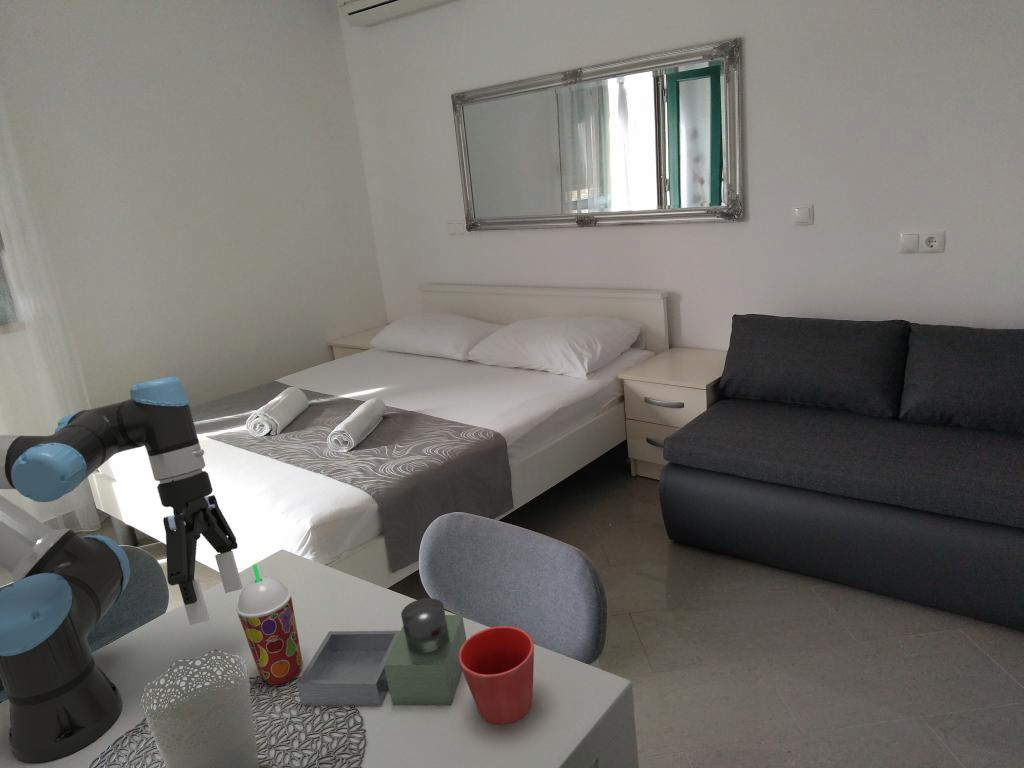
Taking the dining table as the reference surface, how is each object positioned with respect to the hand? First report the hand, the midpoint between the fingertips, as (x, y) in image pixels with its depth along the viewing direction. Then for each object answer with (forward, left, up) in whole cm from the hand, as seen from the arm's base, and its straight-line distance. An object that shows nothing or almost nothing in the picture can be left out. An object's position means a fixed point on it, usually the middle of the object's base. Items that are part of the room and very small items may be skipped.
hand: (218, 605), depth 119 cm
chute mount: (+26, 0, -13) cm, 29 cm away
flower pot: (+46, -6, -14) cm, 48 cm away
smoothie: (+8, +1, -14) cm, 16 cm away
